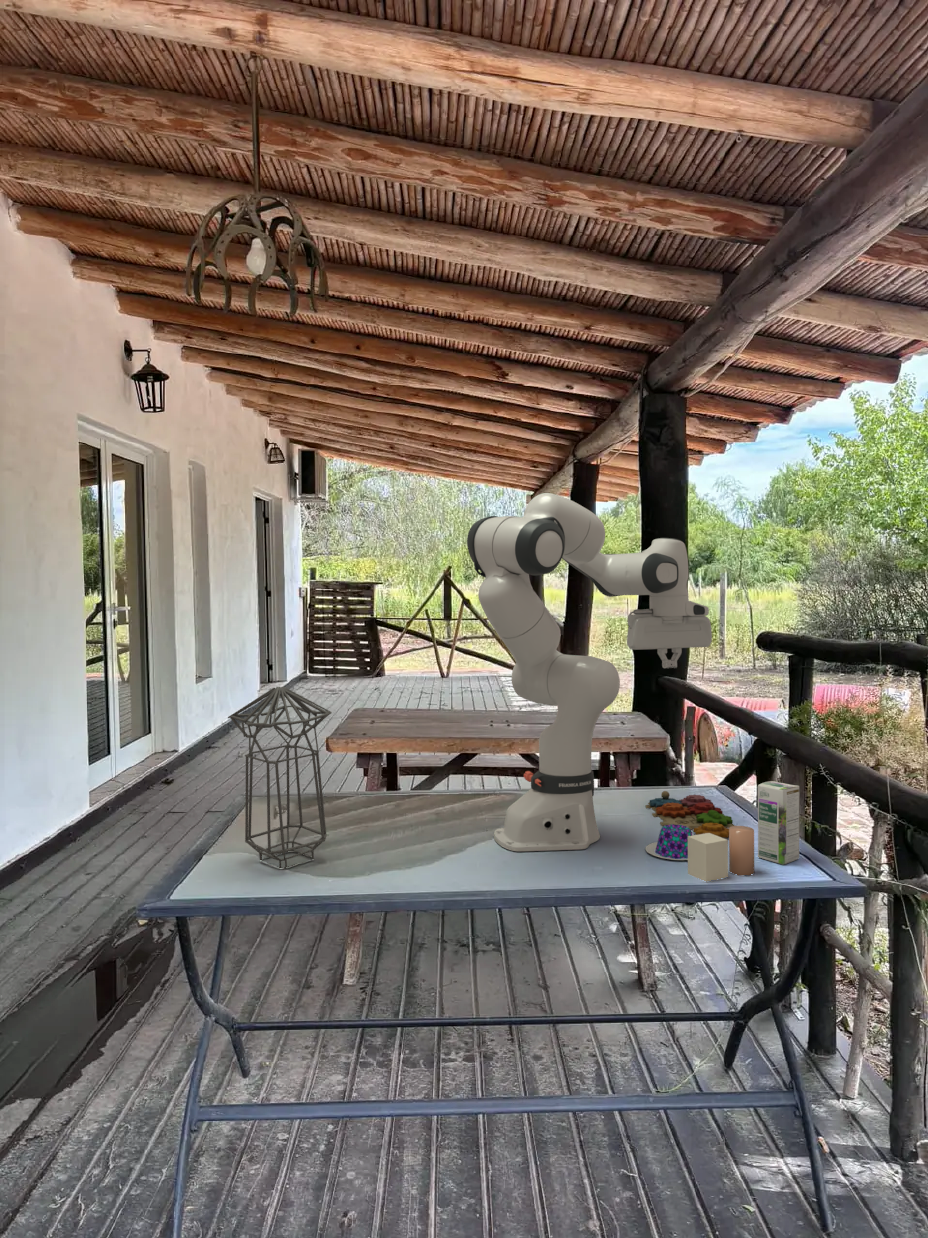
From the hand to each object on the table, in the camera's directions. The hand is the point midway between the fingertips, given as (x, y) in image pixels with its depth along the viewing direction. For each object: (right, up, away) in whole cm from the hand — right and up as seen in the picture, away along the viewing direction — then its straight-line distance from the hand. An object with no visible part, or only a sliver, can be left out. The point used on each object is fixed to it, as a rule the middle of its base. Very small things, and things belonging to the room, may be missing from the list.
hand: (669, 667), depth 192 cm
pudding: (-6, -36, -27) cm, 45 cm away
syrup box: (+13, -35, -32) cm, 50 cm away
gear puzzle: (+4, -35, -5) cm, 36 cm away
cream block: (-3, -36, -41) cm, 54 cm away
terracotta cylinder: (+4, -36, -39) cm, 53 cm away
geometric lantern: (-84, -37, -29) cm, 96 cm away
